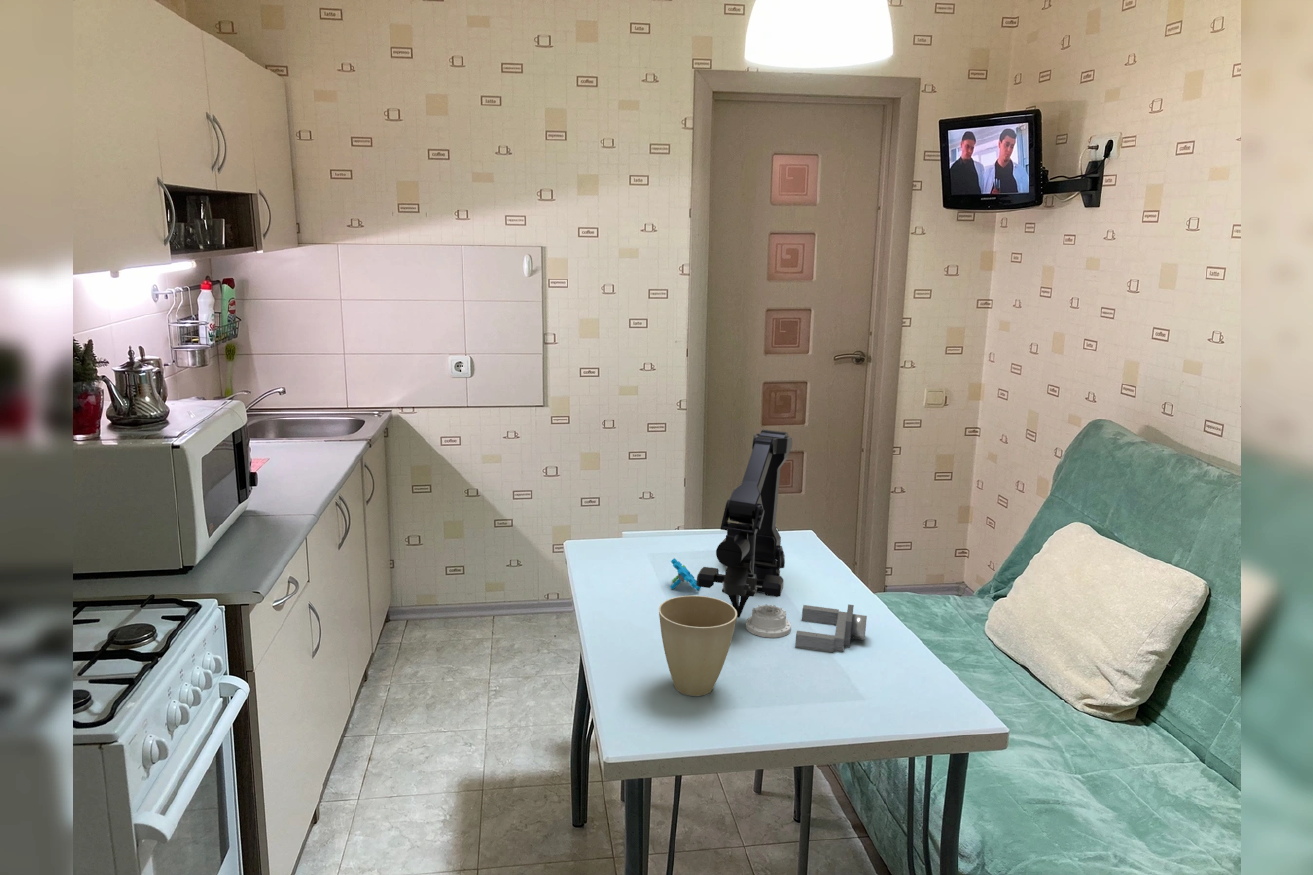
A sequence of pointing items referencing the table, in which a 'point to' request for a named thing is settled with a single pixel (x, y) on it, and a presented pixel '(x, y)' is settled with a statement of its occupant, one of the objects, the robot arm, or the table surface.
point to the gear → (683, 576)
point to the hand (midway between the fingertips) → (738, 616)
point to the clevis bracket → (844, 621)
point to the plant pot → (696, 640)
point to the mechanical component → (768, 622)
